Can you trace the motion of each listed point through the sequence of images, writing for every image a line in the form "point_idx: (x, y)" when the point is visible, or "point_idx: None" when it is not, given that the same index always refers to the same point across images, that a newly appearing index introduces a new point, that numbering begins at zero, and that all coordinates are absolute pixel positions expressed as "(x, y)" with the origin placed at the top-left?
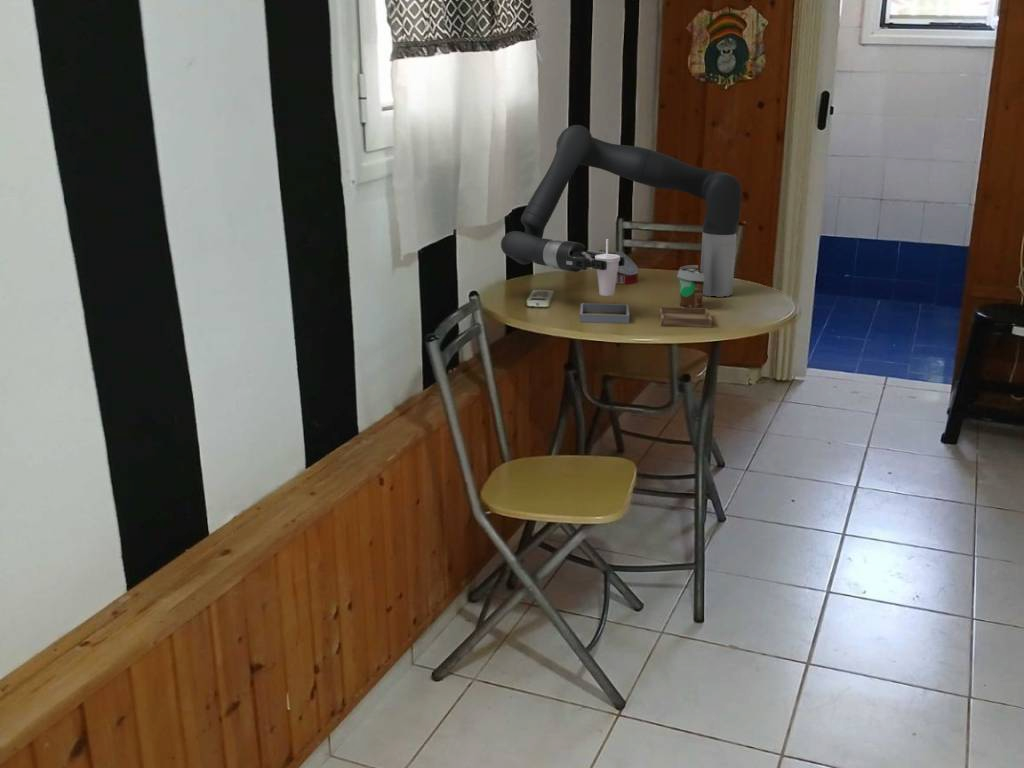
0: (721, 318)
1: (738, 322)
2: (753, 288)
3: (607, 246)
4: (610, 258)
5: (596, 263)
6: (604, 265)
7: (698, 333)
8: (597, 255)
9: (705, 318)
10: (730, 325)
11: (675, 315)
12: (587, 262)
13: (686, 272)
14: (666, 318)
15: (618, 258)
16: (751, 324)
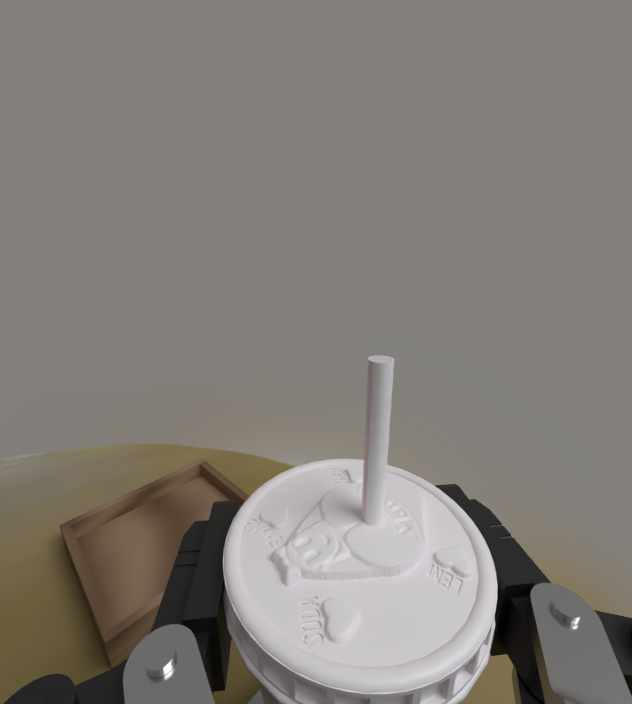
0: (86, 509)
1: (119, 473)
2: None
3: (380, 426)
4: (392, 467)
5: (510, 545)
6: None
7: (272, 464)
8: (427, 655)
9: (138, 509)
10: (159, 468)
11: (141, 578)
12: (616, 619)
13: None
14: None
15: (312, 471)
16: (127, 455)
